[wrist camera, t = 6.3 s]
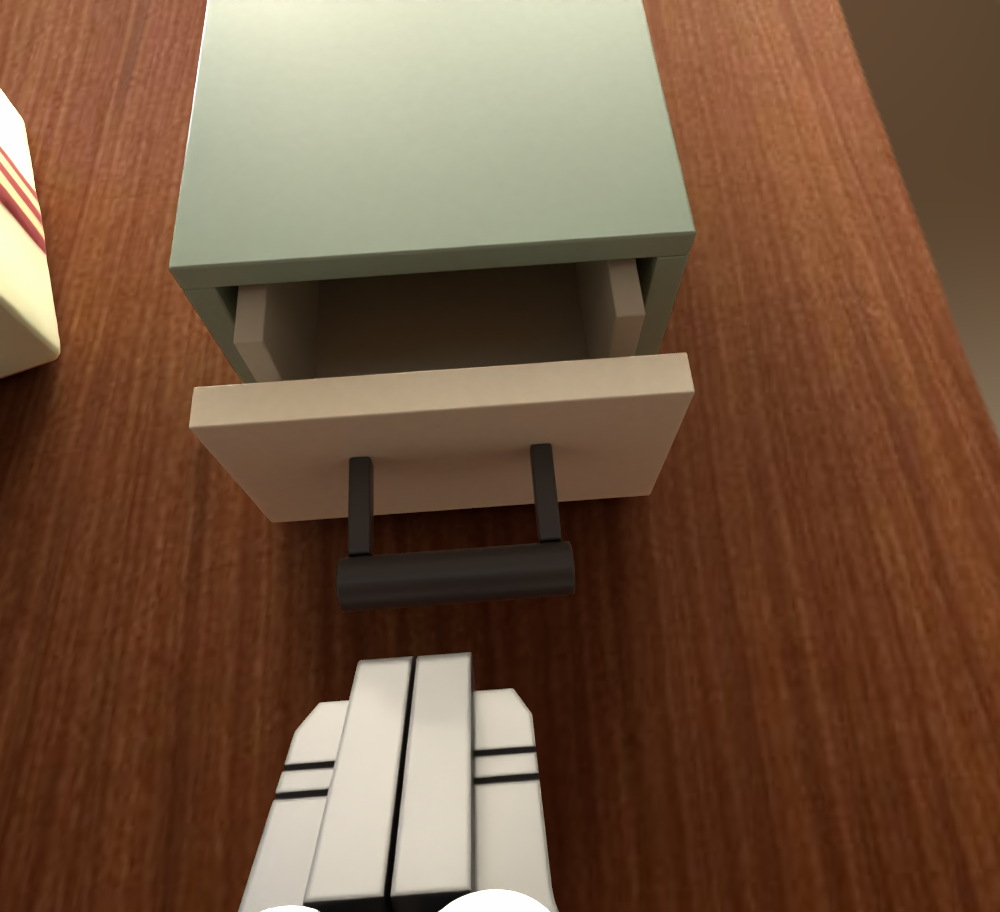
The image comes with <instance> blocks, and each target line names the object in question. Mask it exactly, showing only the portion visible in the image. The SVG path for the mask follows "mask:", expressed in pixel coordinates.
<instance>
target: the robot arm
mask: <svg viewBox="0 0 1000 912" xmlns="http://www.w3.org/2000/svg"><path fill="white" fill-rule="evenodd" d="M284 766H285V769H284V772H282V774H281V777H280V780H279V784H278V787H277V790H276V799H275V800H273V803H272V806H271V809H270V812H269V815H268V819H267V822H266V825H265V828H264V831H263V834H262V838H261V841H260V844H259V847H258V850H257V853H256V857H255V860H254V863H253V866H252V869H251V873H250V876H249V879H248V882H247V885H246V888H245V892H244V895H243V898H242V901H241V904H240V907H239V911H238V912H559V911H558V908H557V906H556V903H555V900H554V896H553V891H552V884H551V875H550V866H549V858H548V849H547V840H546V831H545V823H544V814H543V805H542V797H541V788H540V780H539V770H538V762H537V753H536V744H535V735H534V727H533V718H532V713H531V712H530V711H529V709H528V708H527V706H526V705H525V704H524V702H523V701H522V700H521V698H520V697H519V696H518V694H517V693H516V692H515V690H514V689H513V688H509V689H496V690H483V691H476V689H475V678H474V667H473V658H472V652H466V653H453V654H440V655H426V656H418V657H417V662H416V659H415V657H414V656H410V657H397V658H384V659H370V660H360V661H359V662H358V665H357V668H356V673H355V677H354V681H353V686H352V690H351V694H350V699H349V700H348V701H335V702H322V703H319V704H318V705H317V706H316V707H315V709H314V710H313V711H312V712H311V713H310V715H309V716H308V717H307V718H306V719H305V720H304V722H303V723H302V724H301V725H300V726H299V727H298V729H297V730H296V731H295V733H294V736H293V739H292V742H291V745H290V749H289V752H288V755H287V758H286V761H285V765H284Z"/></svg>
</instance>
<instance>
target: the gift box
mask: <svg viewBox="0 0 1000 912" xmlns="http://www.w3.org/2000/svg"><path fill="white" fill-rule="evenodd" d="M46 258H47V254H46V244H45V237H44V231H43V224H42V217H41V212H40V207H39V203H38V197H37V194H36V190H35V183H34V176H33V170H32V164H31V158H30V152H29V147H28V141H27V135H26V130H25V125H24V121H23V119H22V118H21V116H20V115H19V114H18V112H17V111H16V109H15V108H14V107H13V105H12V104H11V103H10V101H9V100H8V99H7V97H6V96H5V94H4V93H3V92H2V90H1V89H0V379H2V378H5V377H8V376H11V375H14V374H18V373H21V372H24V371H27V370H29V369H32V368H35V367H38V366H41V365H44V364H47V363H50V362H53V361H55V360H56V359H57V358H58V357H59V355H60V339H59V335H58V325H57V319H56V314H55V307H54V301H53V295H52V288H51V282H50V275H49V270H48V265H47V259H46Z"/></svg>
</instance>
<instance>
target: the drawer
mask: <svg viewBox="0 0 1000 912" xmlns="http://www.w3.org/2000/svg"><path fill="white" fill-rule="evenodd" d="M644 317H645V309H644V304H643V298H642V293H641V288H640V282H639V277H638V271H637V266H636V261H635V258H630V259H616V260H601V261H587V262H572V263H558V264H544V265H529V266H515V267H500V268H486V269H471V270H457V271H442V272H428V273H413V274H399V275H385V276H370V277H356V278H341V279H327V280H312V281H298V282H283V283H269V284H254V285H240V286H239V288H238V299H237V309H236V320H235V330H234V341H233V343H234V345H235V347H236V348H237V350H238V352H239V353H240V355H241V356H242V358H243V360H244V361H245V363H246V365H247V366H248V368H249V369H250V371H251V373H252V374H253V376H254V378H255V379H256V381H257V382H258V383H249V384H234V385H220V386H206V387H195V388H194V390H193V398H192V407H191V415H190V424H189V429H190V430H191V431H192V432H193V433H194V435H195V436H196V437H197V438H198V439H199V440H200V441H201V443H202V444H203V445H204V446H205V447H206V448H207V449H208V451H209V452H210V453H211V454H212V455H213V456H214V458H215V459H216V460H217V461H218V462H219V463H220V464H221V466H222V467H223V468H224V469H225V470H226V471H227V472H228V474H229V475H230V476H231V477H232V478H233V479H234V480H235V482H236V483H237V484H238V485H239V486H240V487H241V488H242V490H243V491H244V492H245V493H246V494H247V495H248V496H249V498H250V499H251V500H252V501H253V502H254V503H255V504H256V506H257V507H258V508H259V509H260V510H261V511H262V512H263V514H264V515H265V516H266V517H267V518H268V519H269V521H270V522H272V523H275V522H289V521H303V520H316V519H330V518H344V517H348V555H349V556H350V557H342V558H340V559H339V561H338V565H337V570H336V593H337V600H338V604H339V607H340V609H341V611H343V612H354V611H368V610H381V609H394V608H408V607H421V606H434V605H448V604H461V603H475V602H488V601H501V600H515V599H528V598H542V597H555V596H568V595H573V594H574V592H575V567H574V558H573V551H572V547H571V544H570V542H569V541H561V539H562V534H561V525H560V516H559V507H558V502H563V501H576V500H590V499H604V498H617V497H631V496H645V495H650V494H651V491H652V489H653V487H654V485H655V482H656V480H657V478H658V475H659V473H660V471H661V468H662V466H663V464H664V462H665V459H666V457H667V455H668V452H669V450H670V448H671V446H672V443H673V441H674V439H675V436H676V434H677V432H678V429H679V427H680V425H681V423H682V420H683V418H684V416H685V413H686V411H687V409H688V407H689V404H690V402H691V400H692V397H693V395H694V393H695V390H694V385H693V380H692V376H691V371H690V366H689V361H688V356H687V353H672V354H658V355H644V356H634V355H635V351H636V347H637V343H638V340H639V336H640V332H641V328H642V325H643V321H644ZM521 504H535V513H536V524H537V534H538V543H532V544H518V545H504V546H491V547H477V548H464V549H450V550H437V551H423V552H410V553H396V554H382V555H374V515H385V514H398V513H412V512H426V511H439V510H453V509H467V508H480V507H494V506H508V505H521Z"/></svg>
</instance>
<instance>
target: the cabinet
mask: <svg viewBox="0 0 1000 912" xmlns="http://www.w3.org/2000/svg"><path fill="white" fill-rule="evenodd" d="M695 235H696V230H695V226H694V221H693V217H692V213H691V209H690V204H689V200H688V196H687V191H686V187H685V183H684V179H683V174H682V170H681V166H680V161H679V157H678V153H677V148H676V144H675V140H674V136H673V131H672V127H671V123H670V118H669V114H668V110H667V106H666V101H665V97H664V93H663V88H662V84H661V80H660V75H659V71H658V67H657V63H656V58H655V54H654V50H653V45H652V41H651V37H650V33H649V28H648V24H647V20H646V15H645V11H644V7H643V2H642V0H208V2H207V9H206V16H205V23H204V30H203V37H202V44H201V51H200V57H199V64H198V71H197V78H196V85H195V92H194V99H193V106H192V112H191V119H190V126H189V133H188V140H187V147H186V154H185V161H184V167H183V174H182V181H181V188H180V195H179V202H178V209H177V216H176V222H175V229H174V236H173V243H172V250H171V257H170V264H169V270H170V272H171V273H172V275H173V276H174V278H175V280H176V281H177V283H178V284H179V286H180V287H181V288H182V289H183V291H184V293H185V295H186V296H187V298H188V299H189V301H190V302H191V304H192V306H193V307H194V309H195V310H196V312H197V313H198V315H199V316H200V318H201V319H202V321H203V322H204V324H205V326H206V327H207V329H208V330H209V332H210V333H211V335H212V336H213V338H214V339H215V341H216V342H217V344H218V346H219V347H220V349H221V350H222V352H223V353H224V355H225V356H226V358H227V359H228V361H229V362H230V364H231V366H232V367H233V369H234V370H235V372H236V373H237V375H238V376H239V378H240V379H241V381H242V382H243V384H249V383H258V382H257V381H256V379H255V378H254V376H253V374H252V373H251V371H250V369H249V368H248V366H247V365H246V363H245V361H244V360H243V358H242V356H241V355H240V353H239V352H238V350H237V348H236V347H235V345H234V343H233V341H234V330H235V320H236V309H237V299H238V288H239V286H240V285H254V284H269V283H283V282H298V281H312V280H327V279H341V278H356V277H370V276H385V275H399V274H413V273H428V272H442V271H457V270H471V269H486V268H500V267H515V266H529V265H544V264H558V263H572V262H587V261H601V260H616V259H630V258H635V261H636V266H637V271H638V277H639V282H640V288H641V293H642V298H643V304H644V309H645V317H644V321H643V325H642V328H641V332H640V336H639V340H638V343H637V347H636V351H635V355H634V356H644V355H658V352H659V349H660V346H661V343H662V340H663V337H664V334H665V330H666V327H667V324H668V321H669V318H670V315H671V312H672V308H673V305H674V302H675V299H676V296H677V293H678V289H679V286H680V283H681V280H682V277H683V274H684V271H685V267H686V264H687V261H688V258H689V253H690V250H691V247H692V244H693V241H694V238H695Z"/></svg>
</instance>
